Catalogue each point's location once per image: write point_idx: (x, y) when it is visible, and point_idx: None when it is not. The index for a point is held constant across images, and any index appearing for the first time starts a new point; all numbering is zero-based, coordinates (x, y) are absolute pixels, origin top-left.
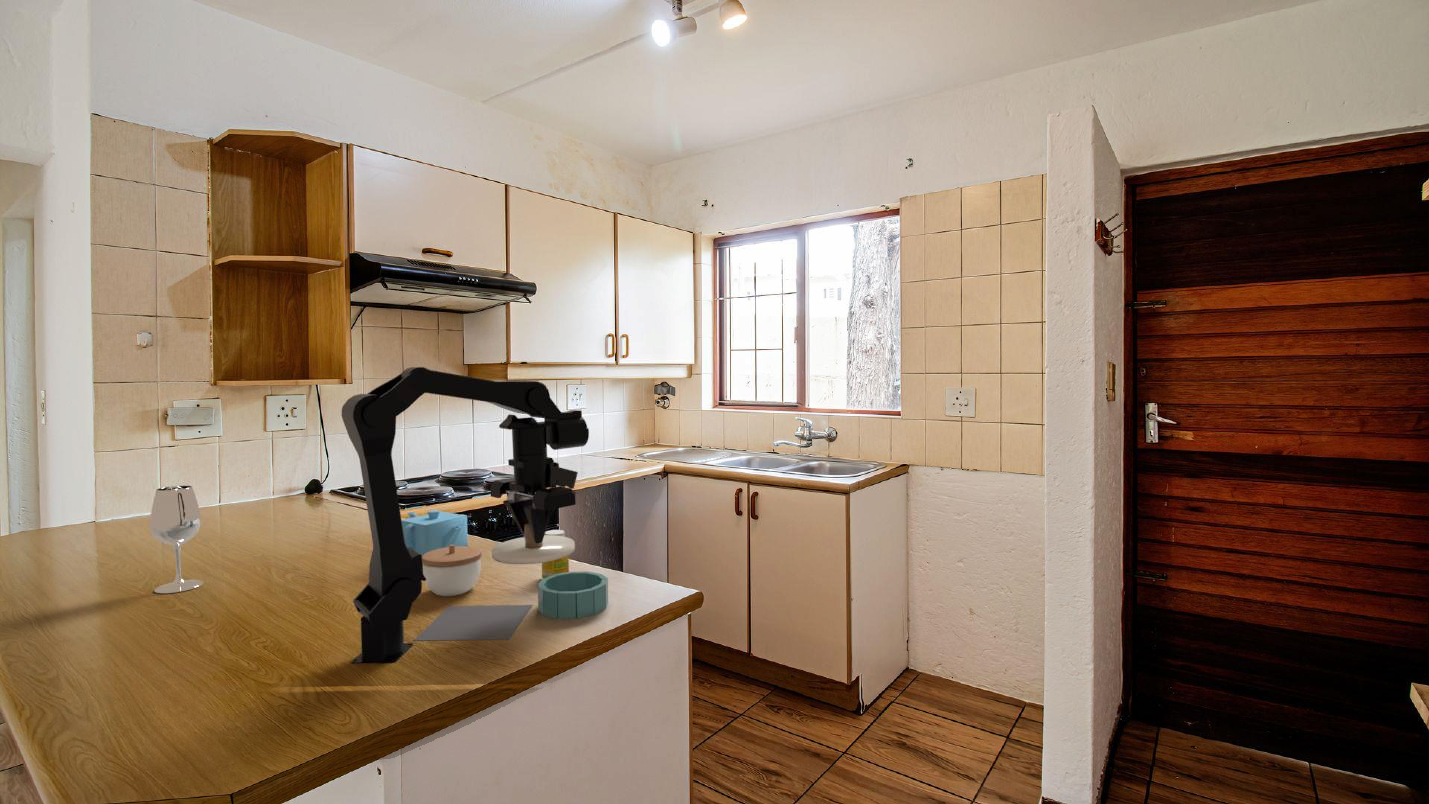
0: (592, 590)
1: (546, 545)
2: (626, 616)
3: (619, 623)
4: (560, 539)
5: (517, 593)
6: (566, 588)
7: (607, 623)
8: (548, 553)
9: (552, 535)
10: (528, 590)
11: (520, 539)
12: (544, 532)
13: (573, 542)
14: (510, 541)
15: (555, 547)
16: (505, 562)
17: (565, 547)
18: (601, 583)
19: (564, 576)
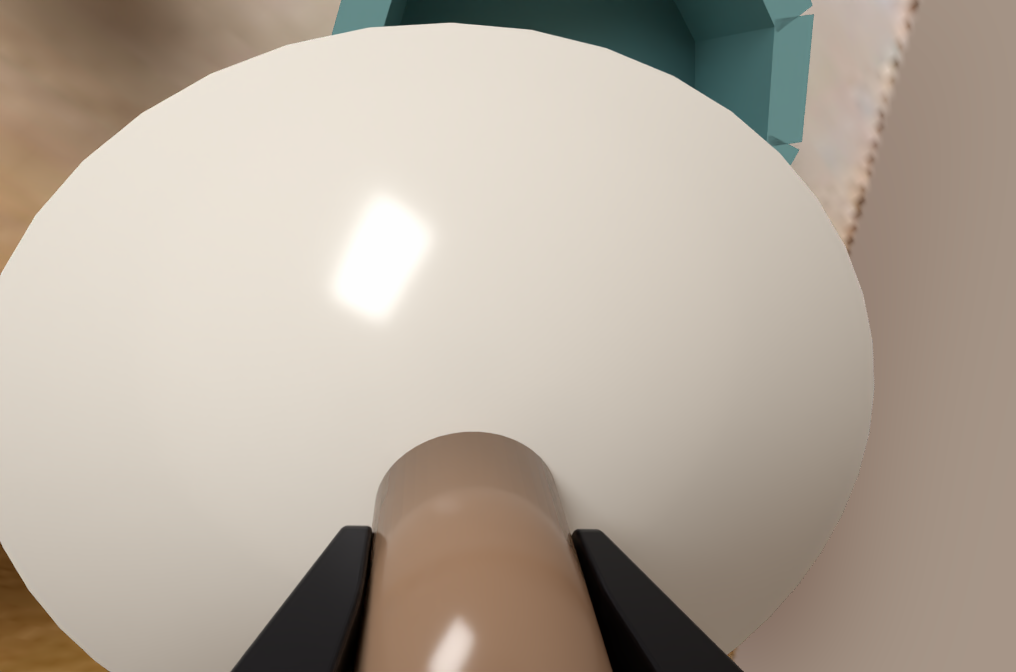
0: (793, 154)
1: (565, 427)
2: (855, 21)
3: (865, 117)
4: (519, 173)
5: (59, 137)
6: (397, 16)
7: (814, 152)
8: (770, 546)
9: (221, 83)
10: (47, 51)
11: (70, 459)
12: (681, 618)
13: (777, 175)
14: (74, 557)
15: (709, 418)
16: None
17: (807, 361)
18: (778, 12)
19: (386, 19)
